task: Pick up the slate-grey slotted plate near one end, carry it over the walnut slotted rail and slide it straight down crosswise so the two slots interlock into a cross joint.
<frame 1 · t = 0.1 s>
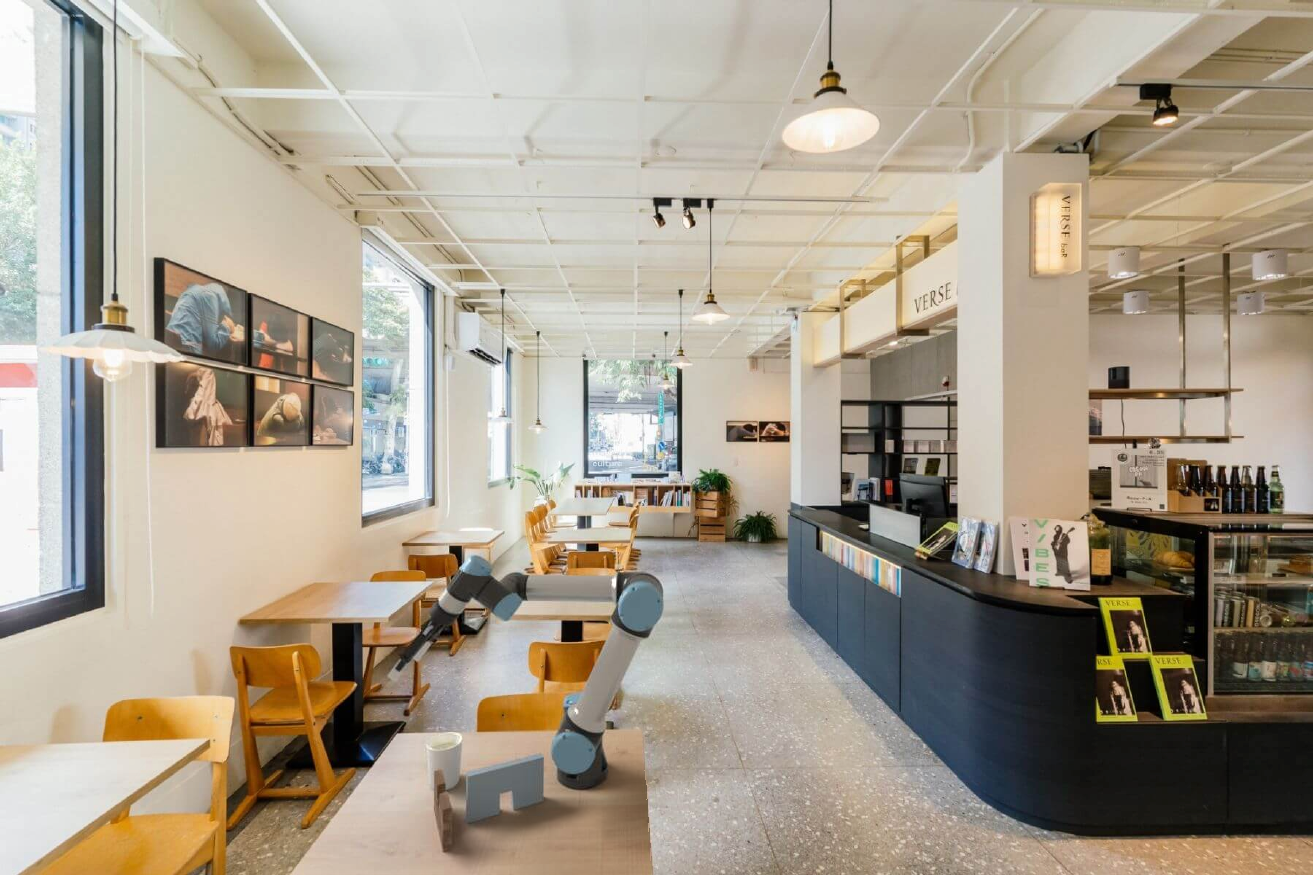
hand: (403, 668, 156), 36 cm above the table, tool tilted 35°, fingers open, 13 cm apart
candle holder: (444, 783, 164), on the table
walnut rail: (442, 827, 145), on the table
slate plate: (505, 809, 152), on the table
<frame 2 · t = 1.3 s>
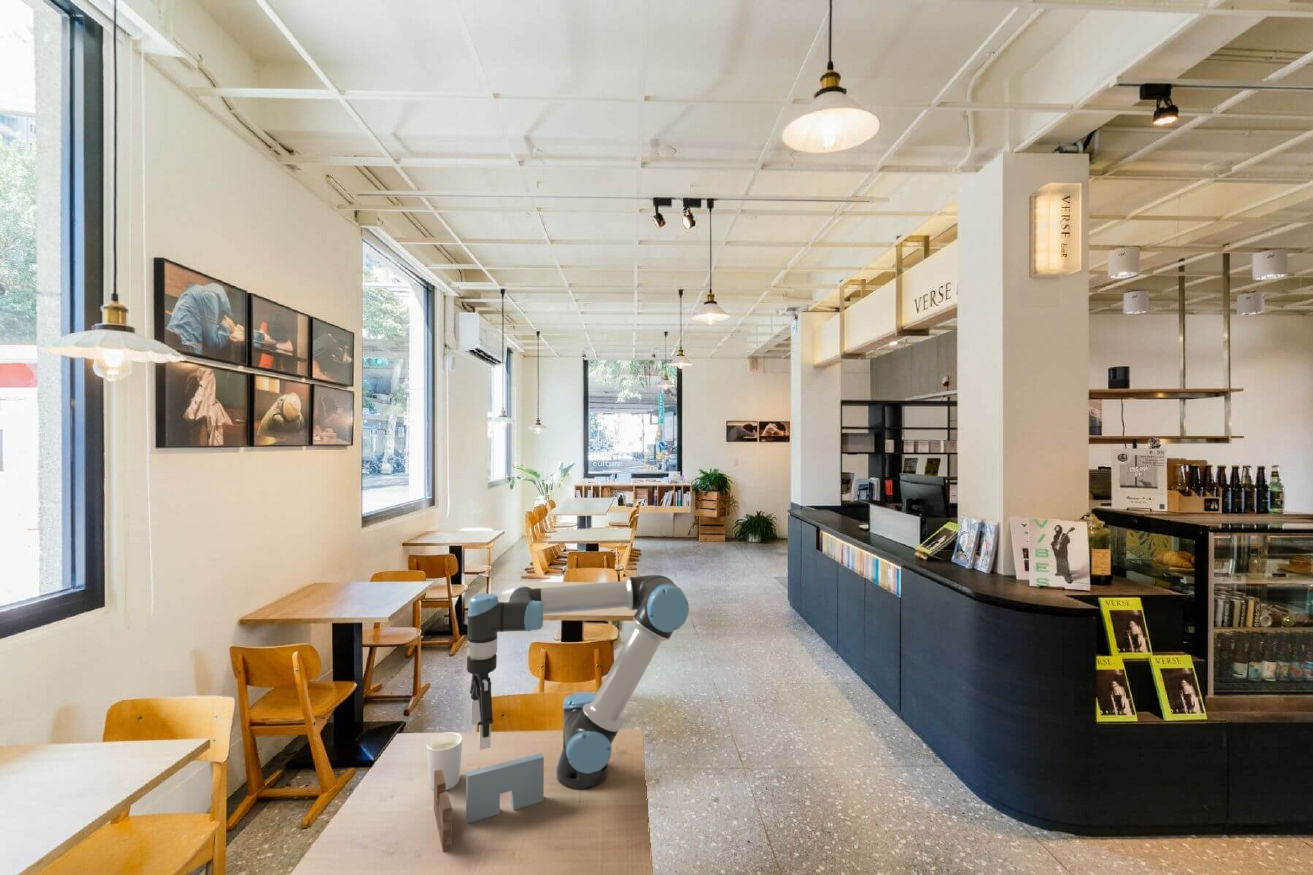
hand: (480, 735, 150), 21 cm above the table, tool pointing down, fingers open, 13 cm apart
nothing on the table moved.
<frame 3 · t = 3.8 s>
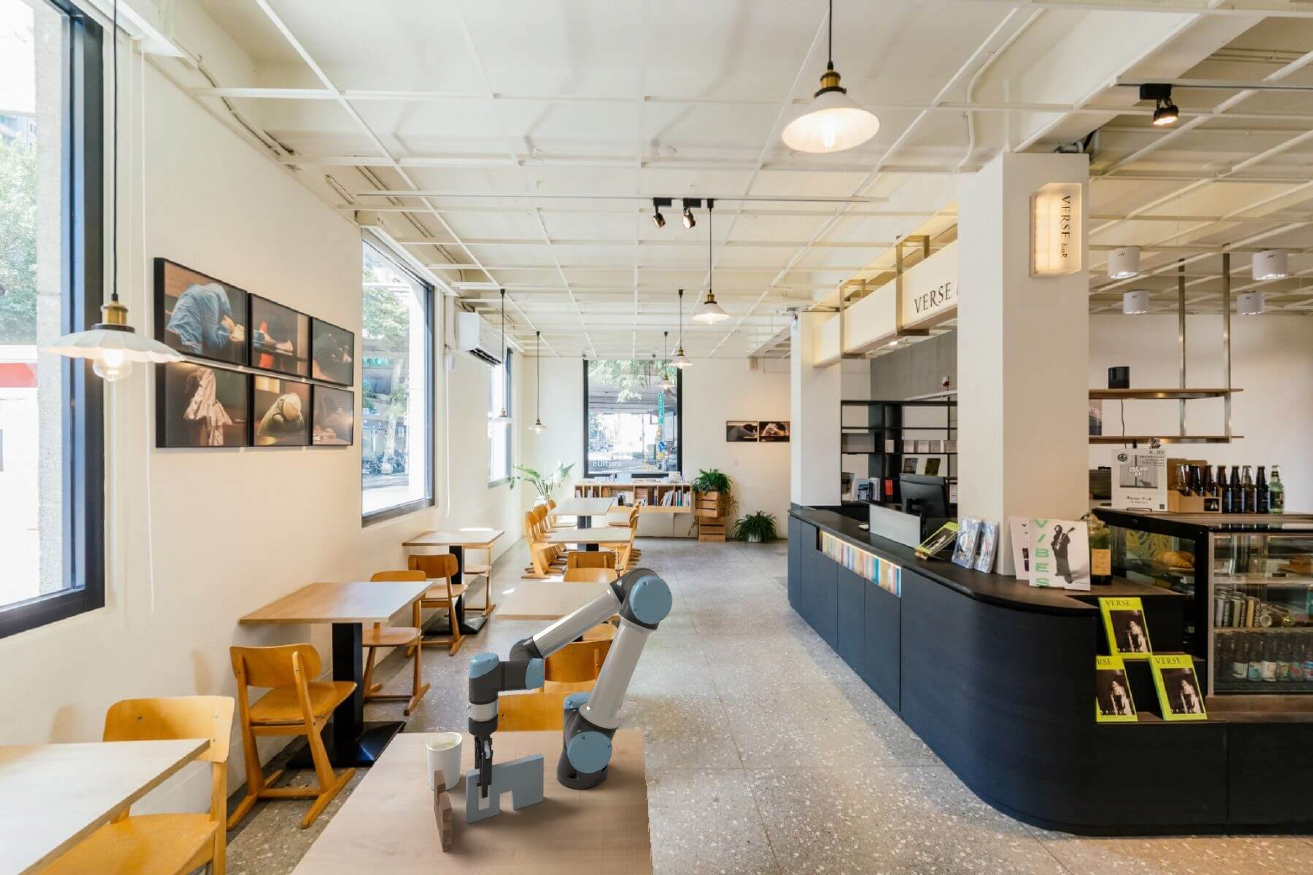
hand: (482, 804, 150), 3 cm above the table, tool pointing down, fingers closed on slate plate, 2 cm apart
slate plate: (505, 809, 152), on the table, touching gripper
everything else where it was.
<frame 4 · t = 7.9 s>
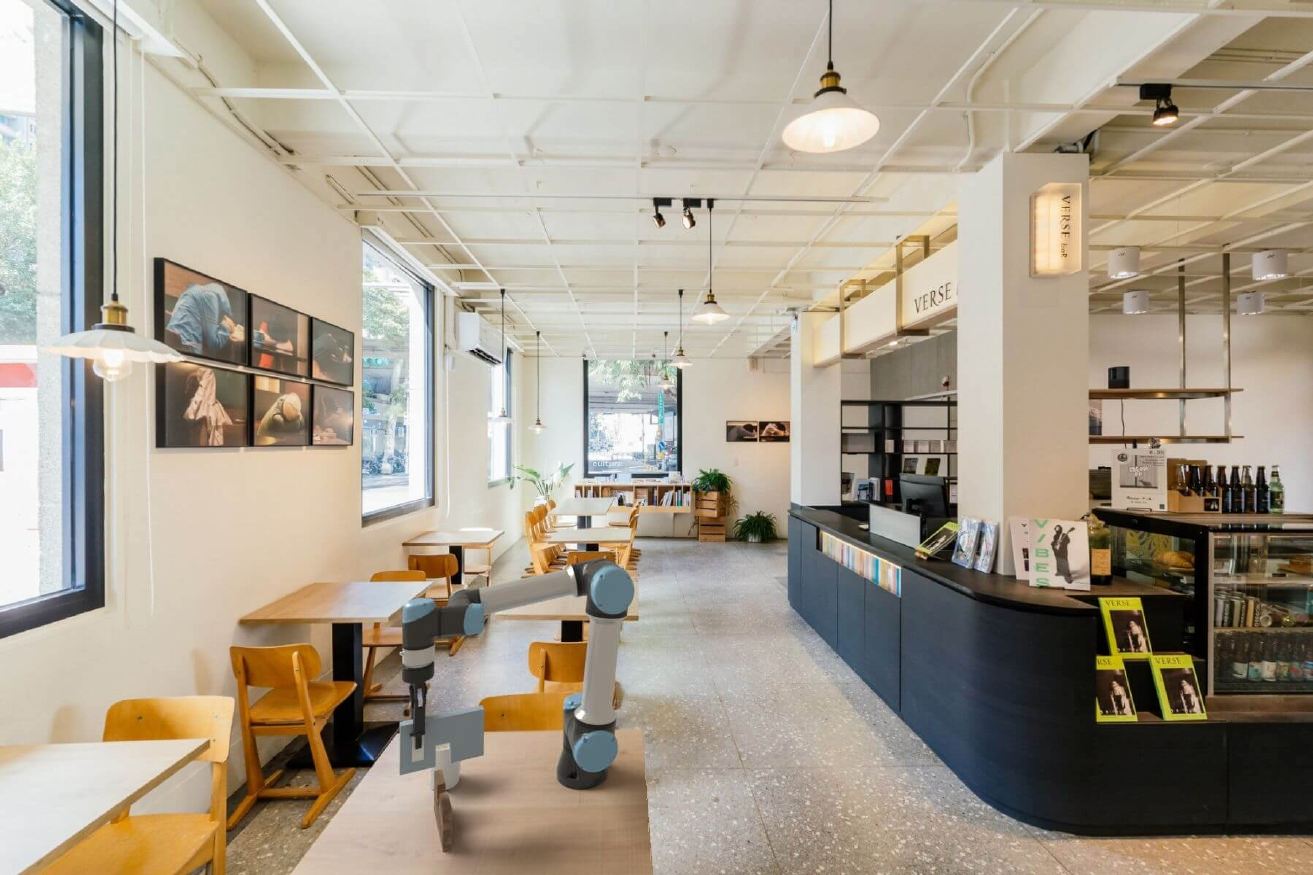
hand: (417, 756, 142), 20 cm above the table, tool pointing down, fingers closed on slate plate, 2 cm apart
slate plate: (442, 762, 145), point 17 cm above the table, touching gripper
everything else where it was.
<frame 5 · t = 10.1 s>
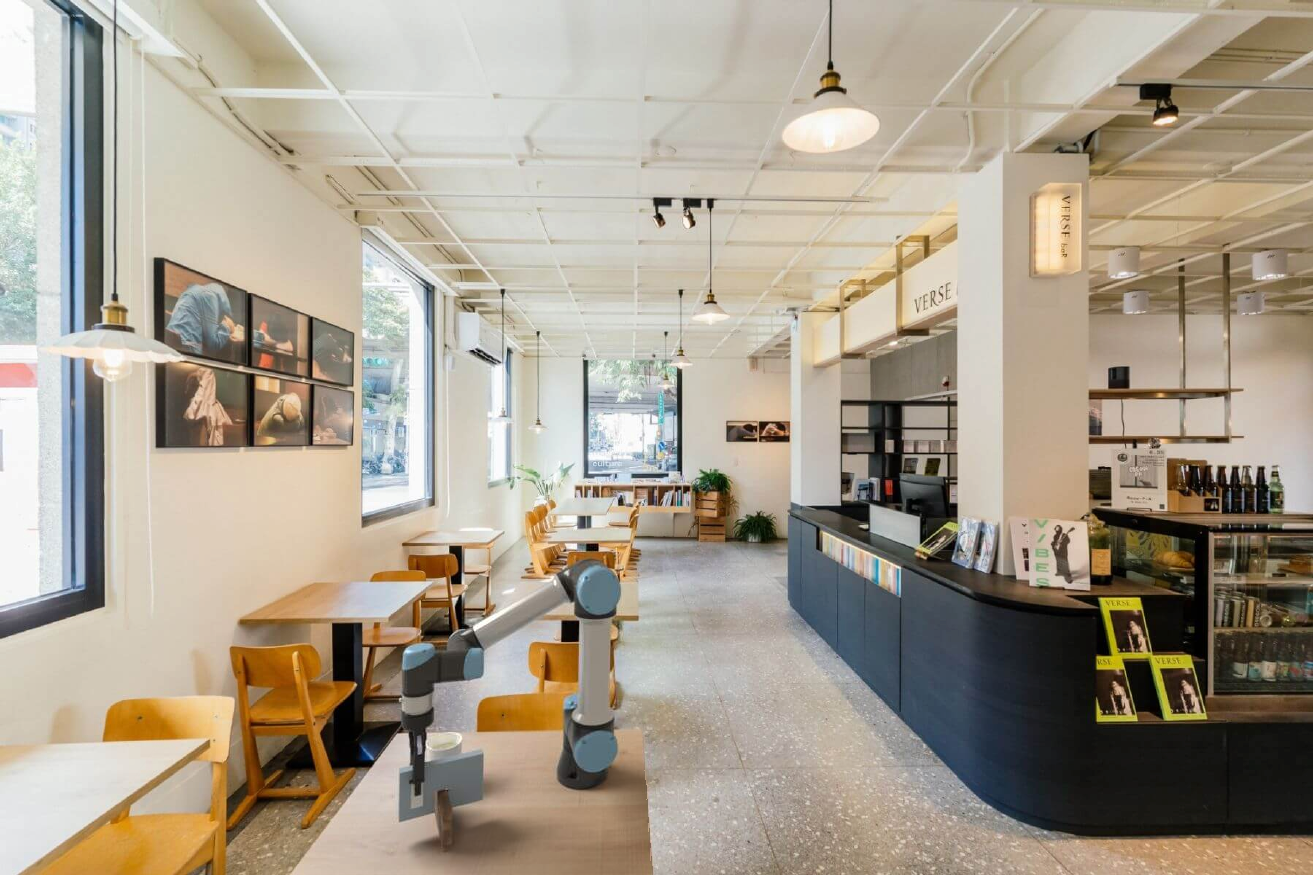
hand: (416, 802, 142), 8 cm above the table, tool pointing down, fingers closed on slate plate, 2 cm apart
slate plate: (441, 807, 145), point 5 cm above the table, touching gripper
everything else where it was.
when the fingers open (4 cm above the table, at t = 11.8 s): slate plate drops 1 cm, on the table.
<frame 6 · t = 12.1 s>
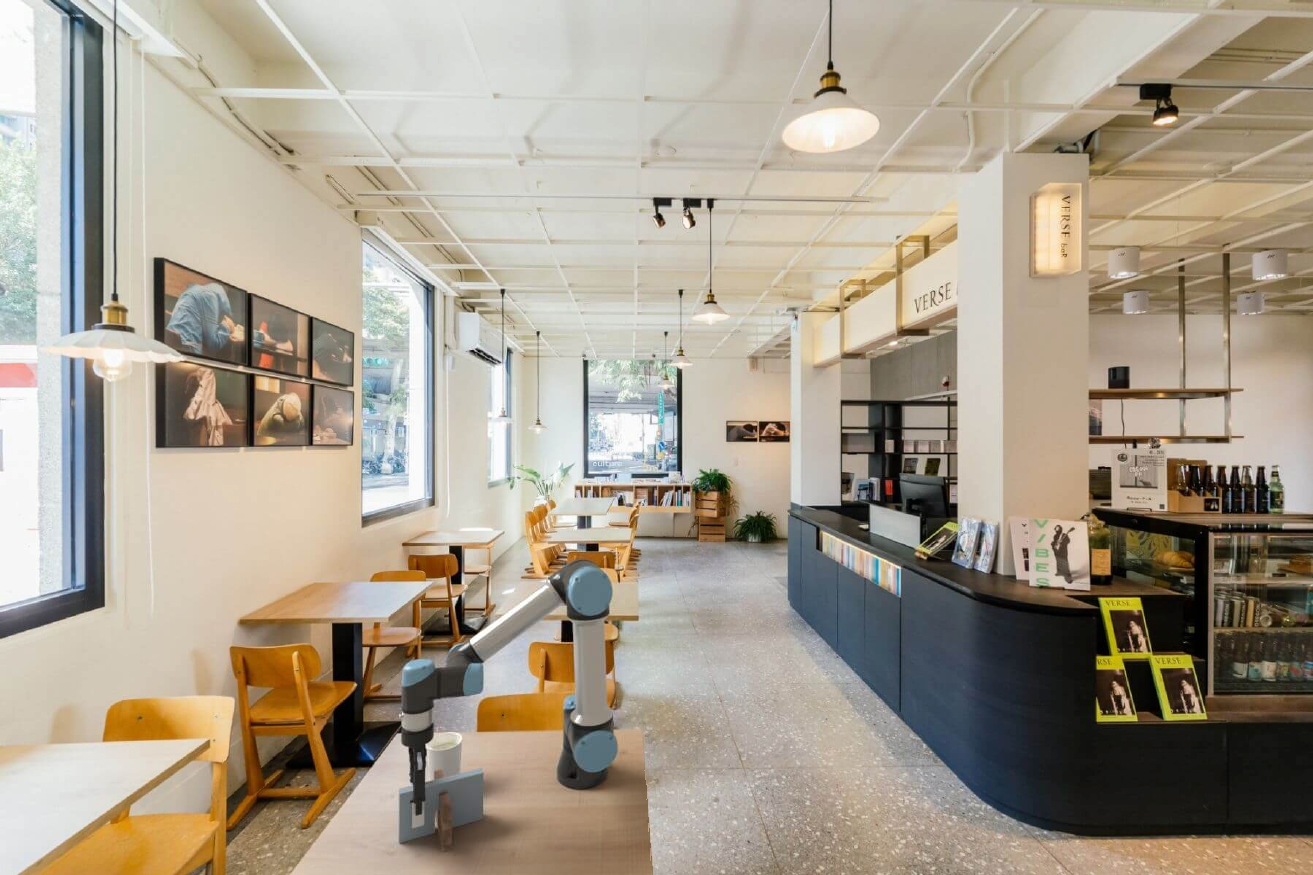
hand: (416, 817, 142), 4 cm above the table, tool pointing down, fingers open, 6 cm apart
slate plate: (441, 827, 145), on the table
everything else where it was.
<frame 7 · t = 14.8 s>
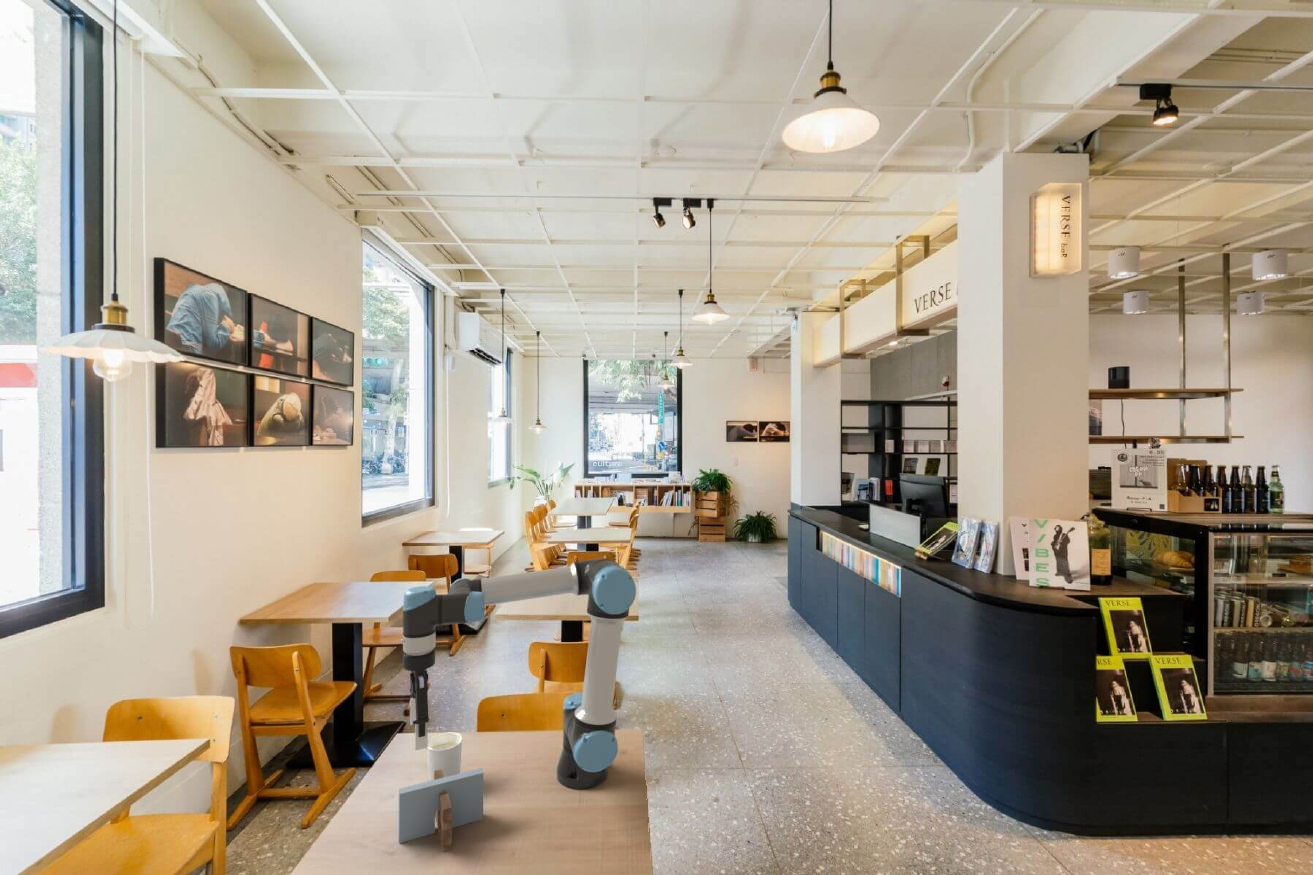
hand: (418, 735, 142), 25 cm above the table, tool pointing down, fingers open, 13 cm apart
nothing on the table moved.
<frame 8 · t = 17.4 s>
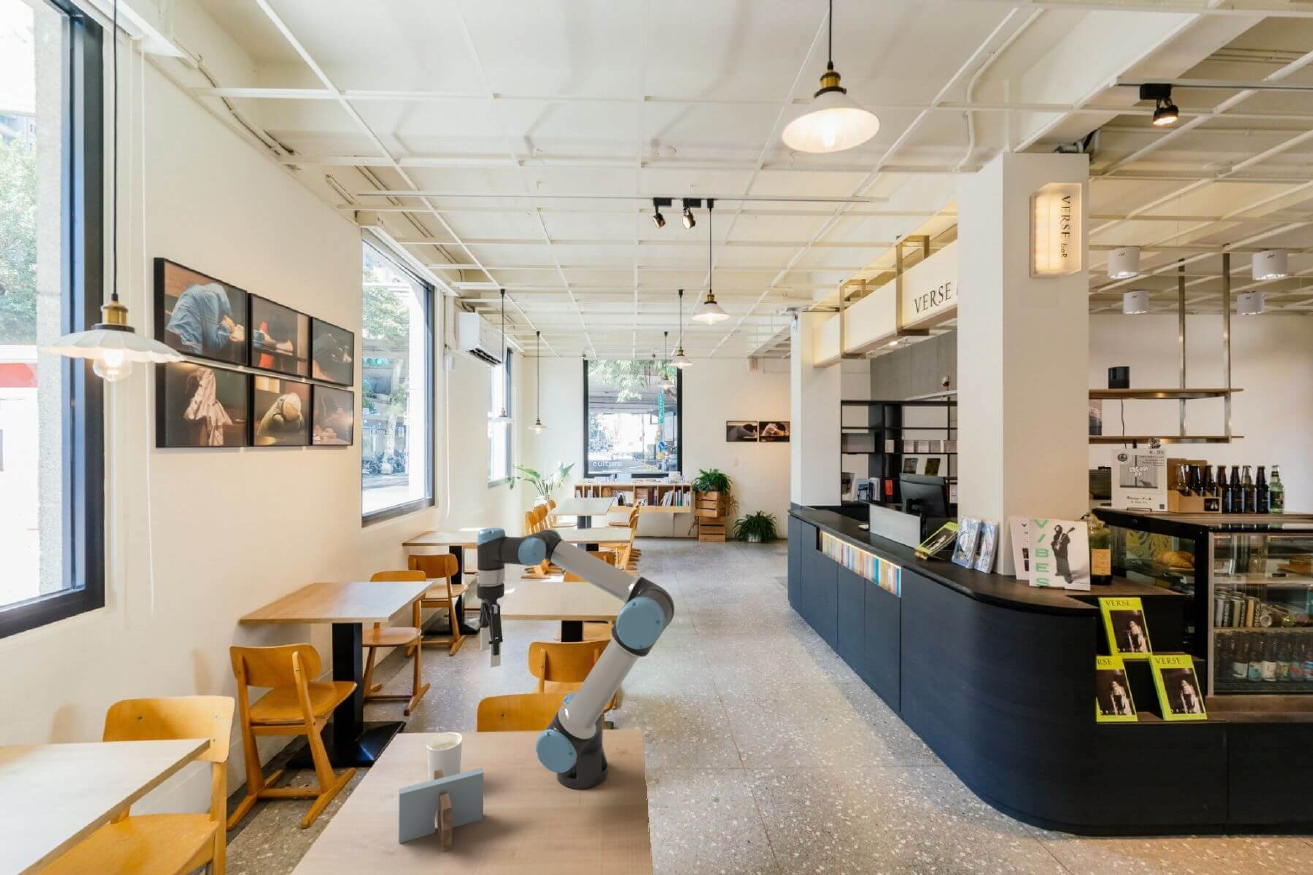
hand: (490, 657, 162), 37 cm above the table, tool pointing down, fingers open, 13 cm apart
nothing on the table moved.
at the end: slate plate 0.1 cm off-centre on the walnut rail, point 0.0 cm above the walnut rail's base; slate plate tilted 0°; the gripper is holding nothing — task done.
